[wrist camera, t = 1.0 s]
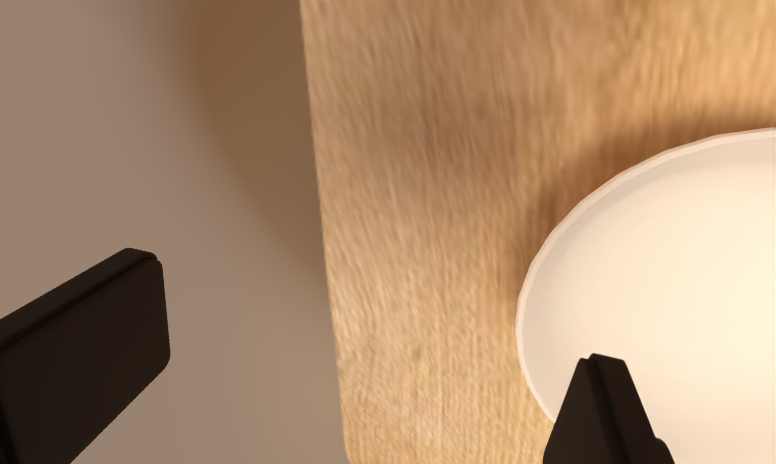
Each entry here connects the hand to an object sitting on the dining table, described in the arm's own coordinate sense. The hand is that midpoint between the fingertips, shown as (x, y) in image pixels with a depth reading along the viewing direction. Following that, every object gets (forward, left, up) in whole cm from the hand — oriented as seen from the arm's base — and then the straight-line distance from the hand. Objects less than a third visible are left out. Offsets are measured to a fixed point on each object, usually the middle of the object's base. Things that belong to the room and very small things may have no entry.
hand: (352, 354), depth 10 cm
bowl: (+5, +15, -20) cm, 26 cm away
